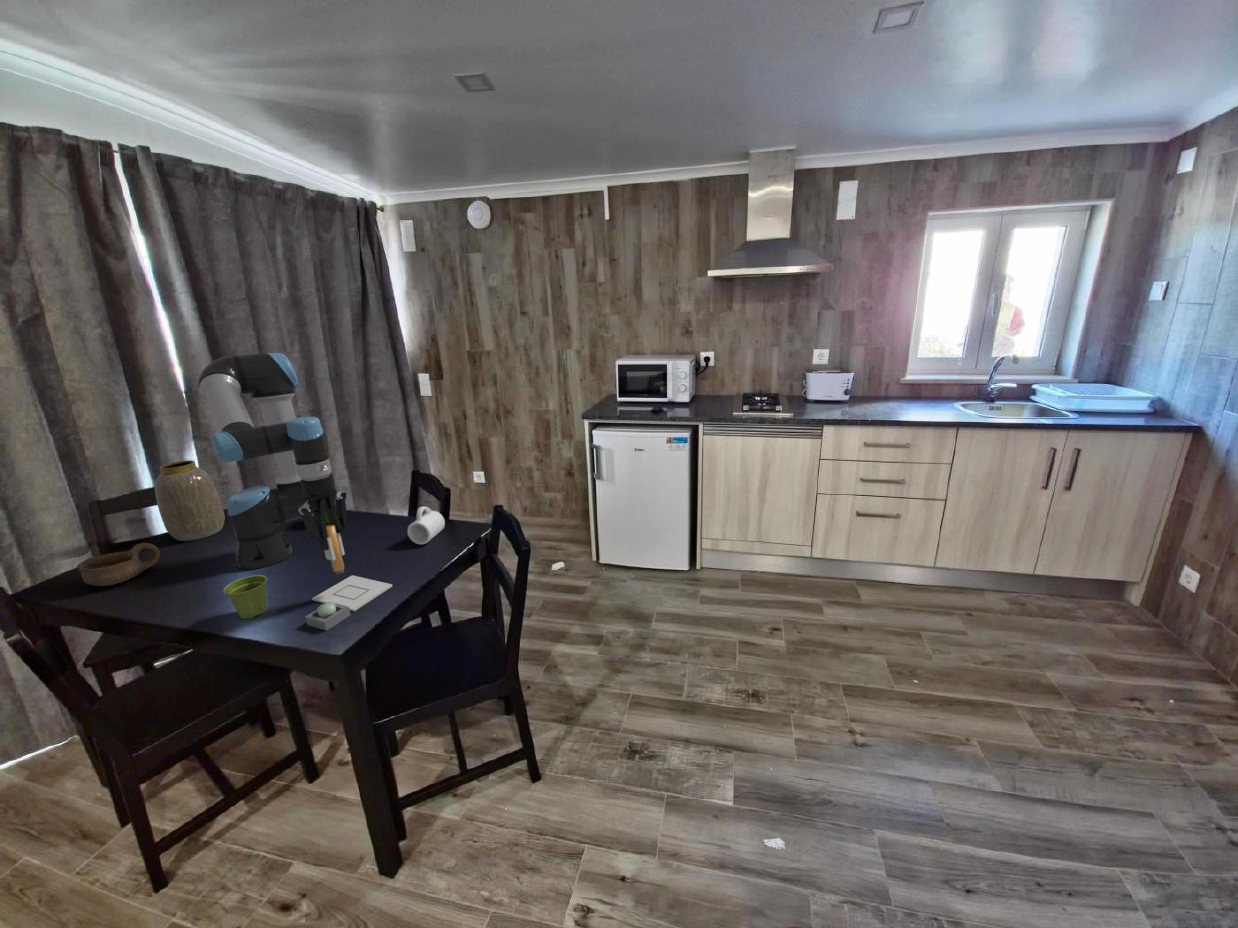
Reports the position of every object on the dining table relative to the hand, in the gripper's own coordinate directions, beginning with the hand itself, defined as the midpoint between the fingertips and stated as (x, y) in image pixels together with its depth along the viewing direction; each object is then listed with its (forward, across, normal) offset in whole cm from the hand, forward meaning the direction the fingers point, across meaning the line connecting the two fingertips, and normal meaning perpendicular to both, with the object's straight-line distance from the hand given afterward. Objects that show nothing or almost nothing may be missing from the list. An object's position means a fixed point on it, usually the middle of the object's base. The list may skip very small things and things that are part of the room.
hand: (335, 556), depth 138 cm
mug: (+12, +36, +2) cm, 38 cm away
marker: (+5, 0, 0) cm, 5 cm away
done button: (+10, -11, -8) cm, 17 cm away
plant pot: (+12, -15, +15) cm, 25 cm away
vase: (+11, +12, +89) cm, 91 cm away
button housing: (+12, -11, -8) cm, 18 cm away
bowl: (+11, -16, +75) cm, 78 cm away
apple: (+11, +36, +50) cm, 63 cm away
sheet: (+11, +1, -3) cm, 12 cm away
